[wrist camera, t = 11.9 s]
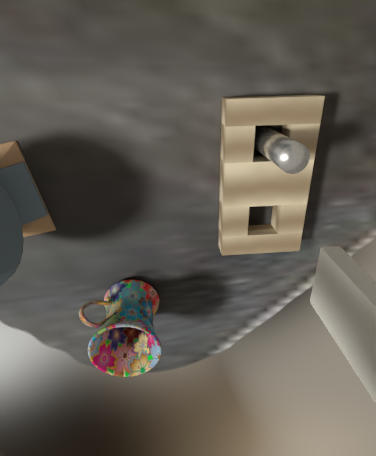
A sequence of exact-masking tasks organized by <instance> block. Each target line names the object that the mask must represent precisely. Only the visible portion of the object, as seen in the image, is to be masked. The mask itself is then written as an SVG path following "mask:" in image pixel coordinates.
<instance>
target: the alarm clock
mask: <svg viewBox="0 0 376 456" xmlns="http://www.w3.org/2000/svg"><path fill="white" fill-rule="evenodd" d="M55 230H56V228H55V226H54V223H53V221H52V219H51V217H50V215H49V212H48V210H47V208H46V206H45V203H44V201H43V199H42V197H41V195H40V192H39V190H38V188H37V186H36V184H35V181H34V179H33V177H32V175H31V173H30V170H29V168H28V166H27V164H26V162H25V159H24V157H23V155H22V153H21V151H20V148H19V146H18V144H17V142H16V141H12V142H8V143H3V144H0V286H1V285H2V284H4V283H5V282H6V281H7V280H8V279H9V278H10V277H11V276H12V275H13V274H14V273H15V271H16V269H17V267H18V265H19V264H20V260H21V257H22V253H23V237H27V236H32V235H36V234H41V233H46V232H50V231H55Z"/></svg>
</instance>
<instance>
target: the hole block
mask: <svg viewBox="0 0 376 456" xmlns="http://www.w3.org/2000/svg"><path fill="white" fill-rule="evenodd" d="M324 98H325V96H320V95H282V96H249V97H222V122H221V161H220V201H219V240H218V245H219V248H220V251H221V254H222V255H235V254H252V253H269V252H286V251H299V250H300V244H301V238H302V232H303V226H304V220H305V214H306V207H307V201H308V195H309V189H310V183H311V177H312V171H313V165H314V159H315V153H316V147H317V141H318V135H319V129H320V123H321V117H322V111H323V105H324ZM261 125H282V129H281V134H283V135H285V136H287V137H289V138H291V139H293V140H295V141H297V142H299V143H301V144H303V145H305V146H306V147H307V148H308V150H309V152H310V159H309V162H308V164H307V166H306V167H305V168H304V169H303V170H302V171H301V172H299V173H296V174H289V173H286V172H284V171H283V170H282V169H280V168H279V167H278V166H277V165H275V164H274V163H273V162H272V161H270V160H269V159H268V158H266V157H265V156H253V153H254V140H255V126H261ZM255 206H273V210H272V219H271V224H265V225H248V221H249V207H255Z"/></svg>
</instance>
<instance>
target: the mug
mask: <svg viewBox="0 0 376 456" xmlns="http://www.w3.org/2000/svg"><path fill="white" fill-rule="evenodd" d="M91 305H105V308H106V310H107V315H106V318H105V319H103V321H102V322H100V323H94V322H91V321H89V320H88V319H87V318H86V317H85V315H84V312H83V311H84V309H85V308H86V307H88V306H91ZM158 307H159V297H158V294H157V292H156V291H155V289H154V288H153V287H152V286H150V285H149V284H147V283H145V282H143V281H139V280H123V281H120V282H117V283H116V284H114V285H113V286H111V287H110V288H109V289H108V291H107V292H106V294H105V297H104V301H103V300H96V301H91V302H88V303H86V304H85V305H84V306H83V307H82V308H81V309H80V311H79V317H80V319H81V321H82V322H83V323H84V324H85V325H87V326H89V327H93V328H97V327H100V326H102V327H101V328H100V329H99V330H98V331H97V332H96V333H95V334H94V336H93V337H92V338H91V340H90V342H89V345H88V355H89V358H90V360H91V362H92V363H93V364H94V365H95V366H96V367H97V368H98V369H100V370H101V371H103V372H105V373H107V374H110V375H114V376H120V377H129V376H136V375H140V374H143V373H145V372H147V371H149V370H150V369H152V368H153V367H154V366H155V365H156V364H157V363H158V361H159V359H160V357H161V353H162V347H161V343H160V341H159V339H158V337H157V336H156V334H155V331H154V328H153V316H154V314H155V313H156V312H157V310H158Z"/></svg>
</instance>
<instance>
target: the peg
mask: <svg viewBox="0 0 376 456" xmlns="http://www.w3.org/2000/svg"><path fill="white" fill-rule="evenodd" d="M254 148H255V149H256V150H258V151H259V152H260V153H261V154H263V155H264V156H265V157H266V158H268V159H269V160H270V161H272V162H273V163H274V164H275V165H277V166H278V167H279V168H280V169H282V170H283V171H284V172H286V173H289V174H296V173H299V172H301V171H302V170H303V169H304V168H305V167H306V166H307V164H308V162H309V159H310V152H309V150H308V148H307V147H306V146H305V145H303V144H301V143H299V142H297V141H295V140H293V139H291V138H289V137H287V136H285V135H283V134H281V133H279V132H277V131H274V130H272V129H270V128H267V127H264V128H260V129H259V130H257V131H256V132H255V140H254Z"/></svg>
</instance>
